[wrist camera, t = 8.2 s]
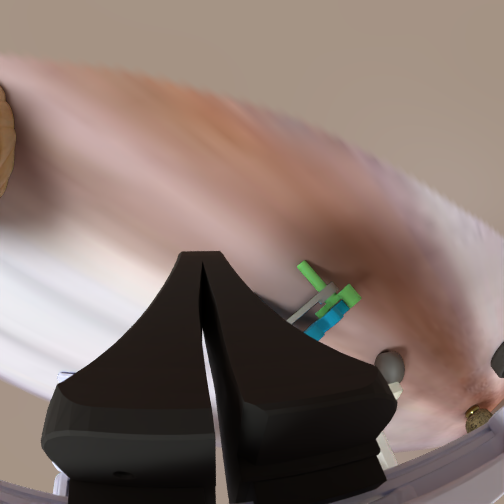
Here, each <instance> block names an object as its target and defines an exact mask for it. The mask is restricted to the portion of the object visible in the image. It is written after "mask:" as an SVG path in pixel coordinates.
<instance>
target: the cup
mask: <svg viewBox="0 0 504 504" xmlns="http://www.w3.org/2000/svg"><path fill="white" fill-rule="evenodd" d="M465 416H466V418H468V419H467V421H466V430H467V433H470V432H471V431H473V430H475V429H477V428H479V427H480V426H482V425H484V424H486V423H487V422H488V420H489V419H490V418H491V417H492V416H493V415H492V414H491V413H490V412H489V411H488V410H487V409H479V406H477V405H475V406H473V407H471V408H470V409H469V410H468V411H467V412H466V414H465Z"/></svg>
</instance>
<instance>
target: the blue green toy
mask: <svg viewBox="0 0 504 504" xmlns="http://www.w3.org/2000/svg"><path fill="white" fill-rule="evenodd" d="M297 268H298V269H299V270H300V271H301V272H302V274H303V275H304V276H305V277H306V278H307V279H308V280H309V282H310V283H311V284H312V285H313V286H314V287H315V289H316V290H317V291H318V292H319V293H318V294H317V295H316V296H314V297H313V298H312V299H311V300H310V301H309V302H308V303H306V304H305V305H304V306H303V307H302V308H301V309H299V310H298V311H297V312H296V313H295V314H294V315H292V316H291V317H290V318H289V319H288V320H286V321H287V322H288V323H290V324H291V325H292V324H293V323H294V322H296V321H297V320H298V319H299V318H300V317H301V316H303V315H304V314H305V313H306V312H307V311H308V310H310V309H311V308H312V307H313V306H314V305H315V304H317V303H318V302H319V303H320V304H323V303H324V302H325V303H326V305H325V306H323V307H322V308H321V309H320V310H319V311H318V312H317V313H315V315H316V316H317V317H318V318H319V319H318V320H317V321H315V322H314V323H313V324H312V325H311V326H309V327H308V329H306V330H305V331H304V333H305V334H307V335H308V336H310V337H312V338H314V339H315V340H317V341H319V340H320V339H321V338H322V337H323V336H324V335H325V334H324V333H325V332H326V331H327V330H329V329H330V328H331V327H333V326H334V325H335V324H336V323H338V322H339V321H340V320H341V319H342V318H343V315H344V314H345V313H346V312H347V311H348V310H349V309H350V308H352V307H353V306H354V305H355V304H356V303H357V302H359V301H360V300H361V296H360V295H359V294H358V293H357V292H356V291H355V290H354V288H353V287H352V286H351V285H350V284H348V285H347V286H346V287H345V288H344V289H343V290H341V291H340V292H339V293H338V294H337V293H336V291H337V290H338V288H337V286H336V285H335V284H334V283H333V282H331V283H329V284H328V285H326V284H325V283H324V282H323V280H322V279H321V278H320V277H319V276H318V275H317V274H316V272H315V271H314V270H313V269H312V268H311V267H310V266H309V264H308V263H307V262H306V261H305V260H304V261H303V262H301V263H300V264H299V265H298V266H297ZM340 299H343V300H341V301H340V302H338V301H339V300H340ZM337 302H338V303H337ZM336 303H337V304H336ZM335 304H336V305H335ZM346 304H347V305H348V306H349V307H350V308H349V307H348V306H347V305H346ZM332 306H333V307H332ZM331 307H332V308H331ZM330 308H331V309H330Z"/></svg>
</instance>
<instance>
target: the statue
mask: <svg viewBox="0 0 504 504" xmlns="http://www.w3.org/2000/svg"><path fill="white" fill-rule="evenodd" d="M15 142H16V133H15V130H14V118H13V113H12V110H11V108H10V106H9V104H8V103H7V102H6V99H5V93H4V91H3V89H2V88H1V86H0V197H1V196H2V195H3V193H4V192H5V189H6V187H7V183H8V179H9V177H10V175H11V172H12V170H13V166H14V148H15Z"/></svg>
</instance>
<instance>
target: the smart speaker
mask: <svg viewBox="0 0 504 504" xmlns="http://www.w3.org/2000/svg"><path fill="white" fill-rule="evenodd" d="M491 367H492V369H493V370H494V371H495V373H496V374H497V375H498V376H499V377H500V378H504V342H503V343H502V345H501V346H500V347H499V348H498V350H497V351H496V353H495V354H494V356H493V358H492V361H491Z"/></svg>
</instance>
